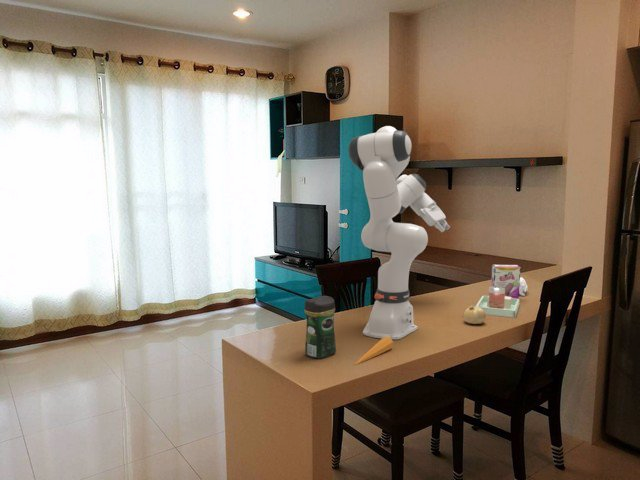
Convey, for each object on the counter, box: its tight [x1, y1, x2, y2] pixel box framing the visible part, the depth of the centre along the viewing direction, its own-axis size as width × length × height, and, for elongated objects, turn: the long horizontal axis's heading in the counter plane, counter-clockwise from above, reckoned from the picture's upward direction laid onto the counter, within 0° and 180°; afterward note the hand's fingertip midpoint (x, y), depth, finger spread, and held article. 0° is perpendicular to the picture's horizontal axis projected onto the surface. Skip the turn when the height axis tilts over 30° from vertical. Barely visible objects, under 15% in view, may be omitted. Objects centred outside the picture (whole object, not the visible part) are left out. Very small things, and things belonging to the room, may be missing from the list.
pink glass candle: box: [488, 285, 505, 309], centre depth 200 cm, size 6×6×10 cm
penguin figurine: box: [519, 276, 529, 297], centre depth 233 cm, size 6×8×12 cm
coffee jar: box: [304, 295, 337, 359], centre depth 157 cm, size 10×8×19 cm
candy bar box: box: [490, 264, 522, 299], centre depth 218 cm, size 11×5×16 cm, turn 84°
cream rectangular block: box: [487, 295, 511, 309], centre depth 209 cm, size 5×9×4 cm, turn 64°
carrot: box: [354, 337, 394, 366], centre depth 156 cm, size 20×4×4 cm, turn 140°
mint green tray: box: [474, 295, 520, 319], centre depth 205 cm, size 20×15×4 cm
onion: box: [463, 305, 487, 325], centre depth 189 cm, size 8×8×7 cm
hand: (446, 230), depth 210 cm, fingers open, 8 cm apart
